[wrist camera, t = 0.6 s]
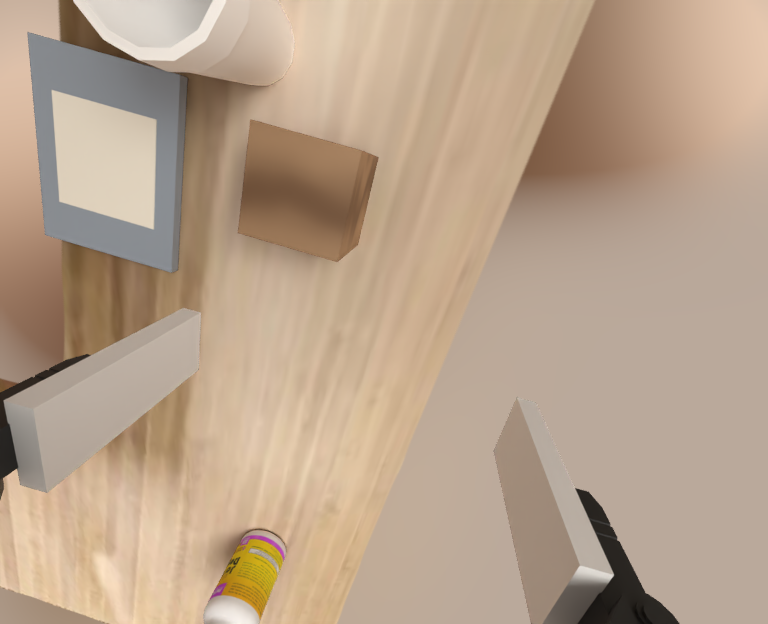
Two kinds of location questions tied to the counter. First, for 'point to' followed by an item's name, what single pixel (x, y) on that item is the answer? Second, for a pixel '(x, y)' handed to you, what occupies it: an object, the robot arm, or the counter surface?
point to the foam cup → (200, 35)
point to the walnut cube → (304, 191)
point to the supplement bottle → (247, 580)
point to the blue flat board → (109, 151)
